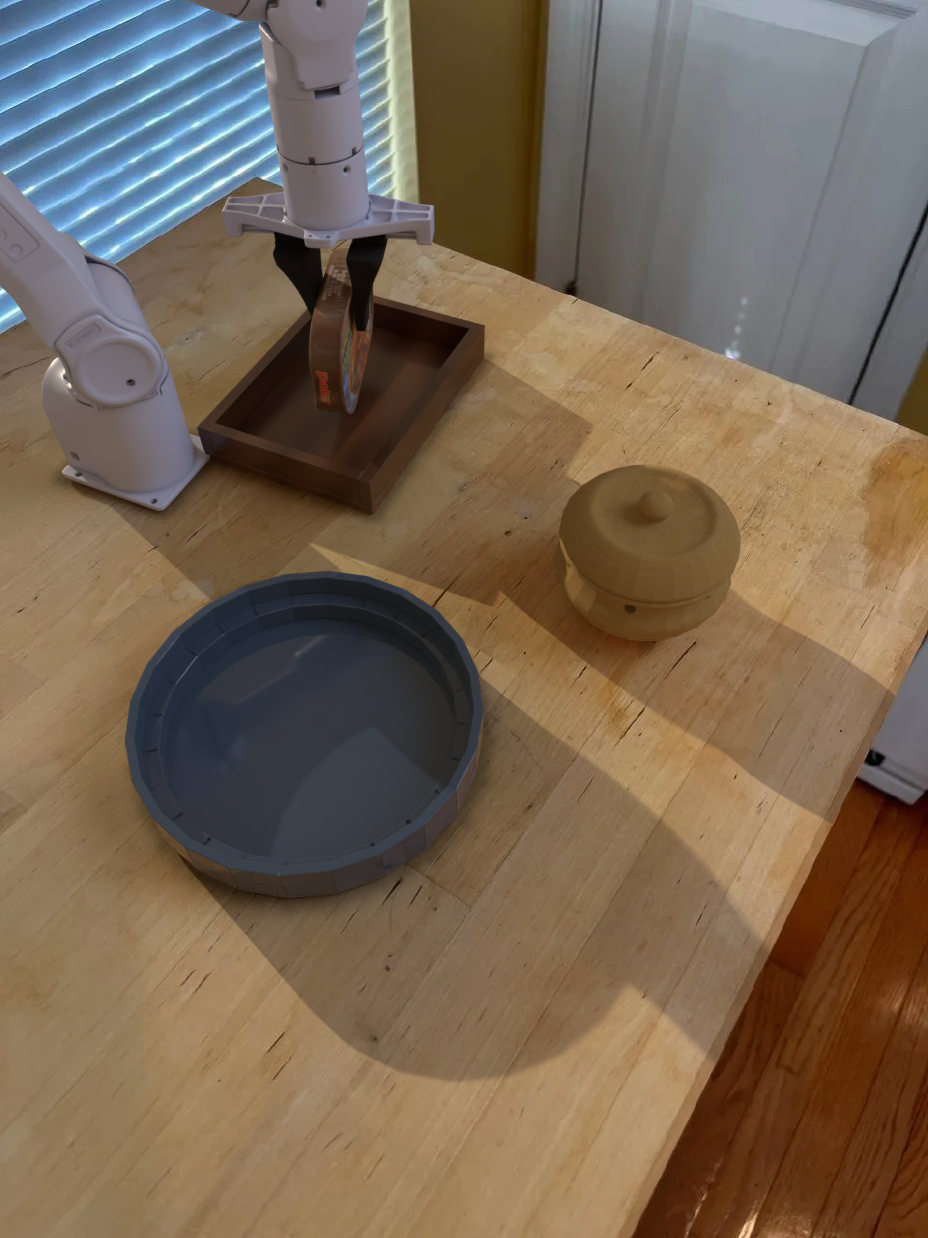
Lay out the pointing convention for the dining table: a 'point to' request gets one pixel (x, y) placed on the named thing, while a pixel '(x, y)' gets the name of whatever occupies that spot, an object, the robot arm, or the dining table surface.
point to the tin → (337, 340)
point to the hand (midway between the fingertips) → (342, 322)
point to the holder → (339, 442)
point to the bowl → (306, 733)
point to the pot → (646, 552)
